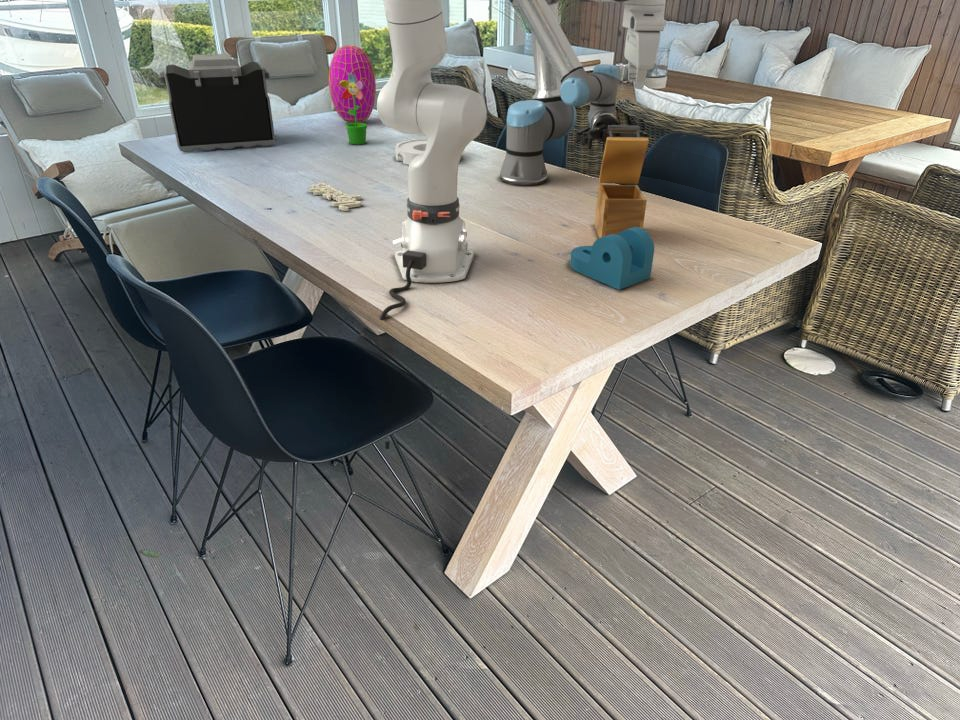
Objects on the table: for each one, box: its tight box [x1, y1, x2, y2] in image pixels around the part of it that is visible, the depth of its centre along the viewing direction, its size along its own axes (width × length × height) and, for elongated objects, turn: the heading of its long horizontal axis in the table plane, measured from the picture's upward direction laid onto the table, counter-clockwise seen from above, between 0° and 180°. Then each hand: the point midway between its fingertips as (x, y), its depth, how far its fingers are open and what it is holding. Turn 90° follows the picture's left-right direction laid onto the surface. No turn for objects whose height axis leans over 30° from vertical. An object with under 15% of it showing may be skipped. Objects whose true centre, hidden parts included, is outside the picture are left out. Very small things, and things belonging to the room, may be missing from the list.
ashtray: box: [394, 138, 462, 166], centre depth 243 cm, size 23×23×4 cm
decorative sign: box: [308, 182, 362, 212], centre depth 203 cm, size 26×1×10 cm
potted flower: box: [339, 73, 368, 145], centre depth 255 cm, size 9×8×25 cm
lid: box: [598, 124, 650, 185], centre depth 175 cm, size 14×10×9 cm
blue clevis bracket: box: [569, 227, 655, 291], centre depth 155 cm, size 18×10×10 cm, turn 39°
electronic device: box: [159, 53, 276, 153], centre depth 251 cm, size 37×22×30 cm, turn 111°
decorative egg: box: [328, 44, 377, 124], centre depth 286 cm, size 19×19×30 cm
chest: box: [594, 183, 648, 239], centre depth 176 cm, size 13×10×11 cm
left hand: (635, 85), depth 159 cm, fingers open, 8 cm apart
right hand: (616, 144), depth 183 cm, fingers open, 13 cm apart
